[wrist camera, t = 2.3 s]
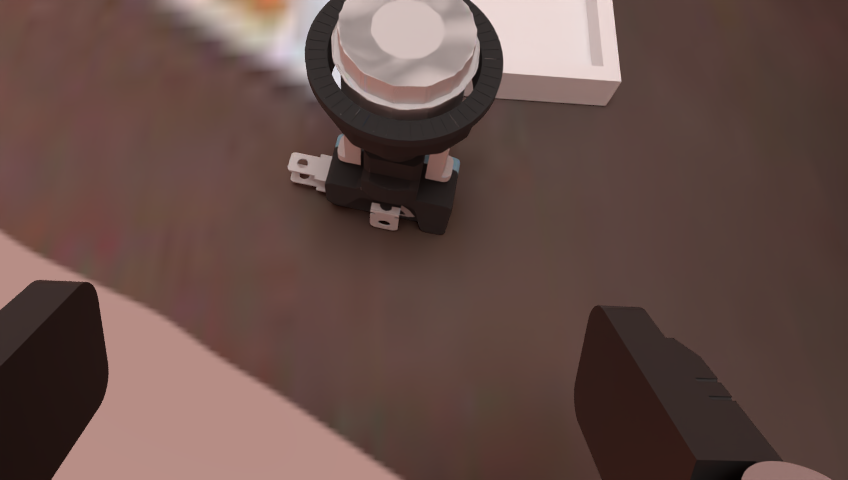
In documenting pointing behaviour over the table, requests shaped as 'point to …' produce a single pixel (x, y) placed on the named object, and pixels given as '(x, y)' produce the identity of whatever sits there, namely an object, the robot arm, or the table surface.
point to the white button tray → (555, 50)
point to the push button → (398, 103)
